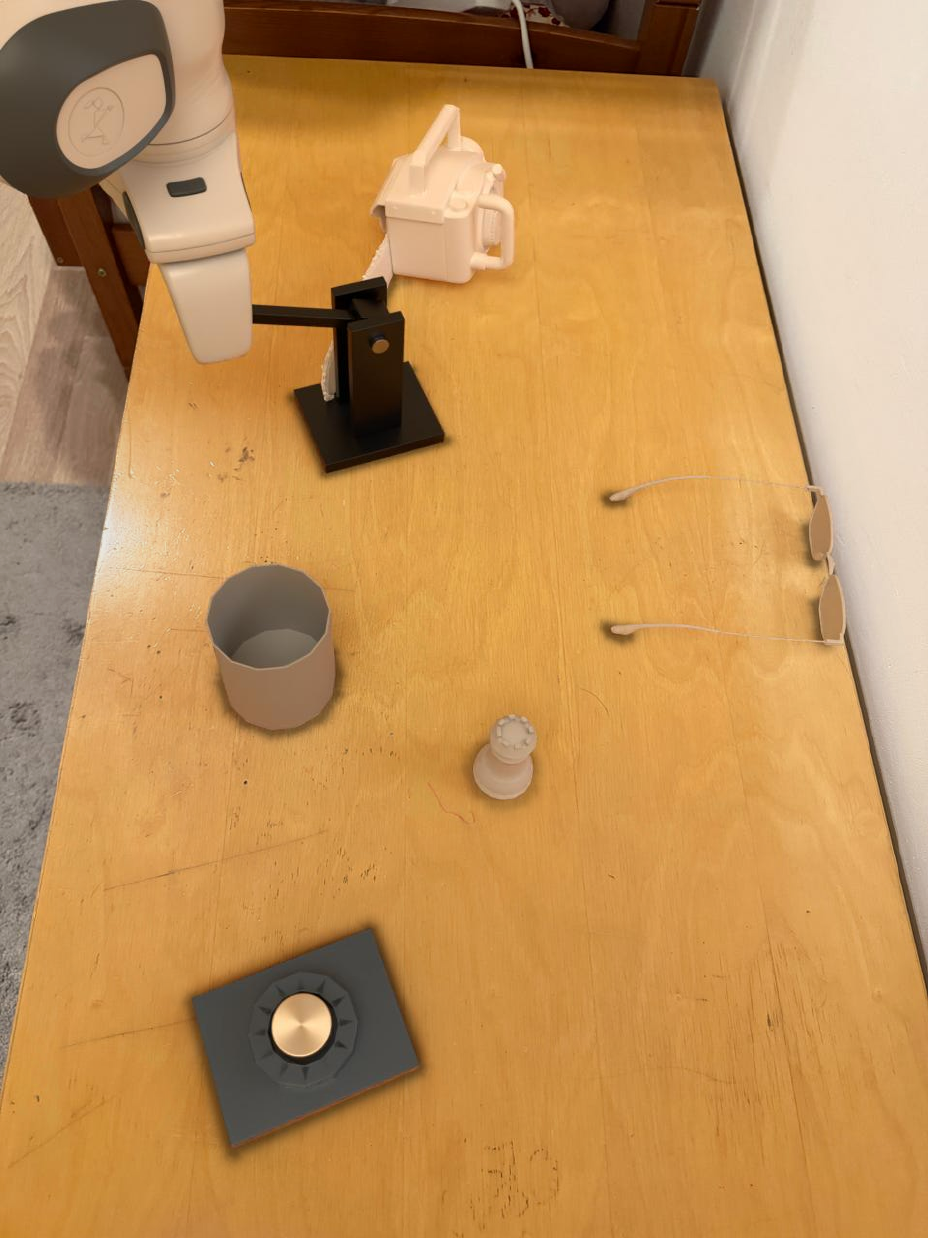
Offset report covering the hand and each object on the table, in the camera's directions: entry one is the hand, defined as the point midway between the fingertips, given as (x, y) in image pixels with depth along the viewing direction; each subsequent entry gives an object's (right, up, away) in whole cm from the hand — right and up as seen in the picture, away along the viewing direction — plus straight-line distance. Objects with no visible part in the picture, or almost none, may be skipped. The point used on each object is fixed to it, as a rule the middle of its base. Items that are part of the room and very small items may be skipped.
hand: (195, 316), depth 73 cm
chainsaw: (+16, +10, +26) cm, 32 cm away
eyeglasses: (+41, -18, +12) cm, 46 cm away
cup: (+5, -27, +5) cm, 28 cm away
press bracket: (+11, -4, +18) cm, 21 cm away
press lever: (+6, 0, +4) cm, 7 cm away
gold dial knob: (+10, -47, -11) cm, 49 cm away
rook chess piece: (+22, -33, +2) cm, 40 cm away
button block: (+9, -49, -8) cm, 50 cm away
